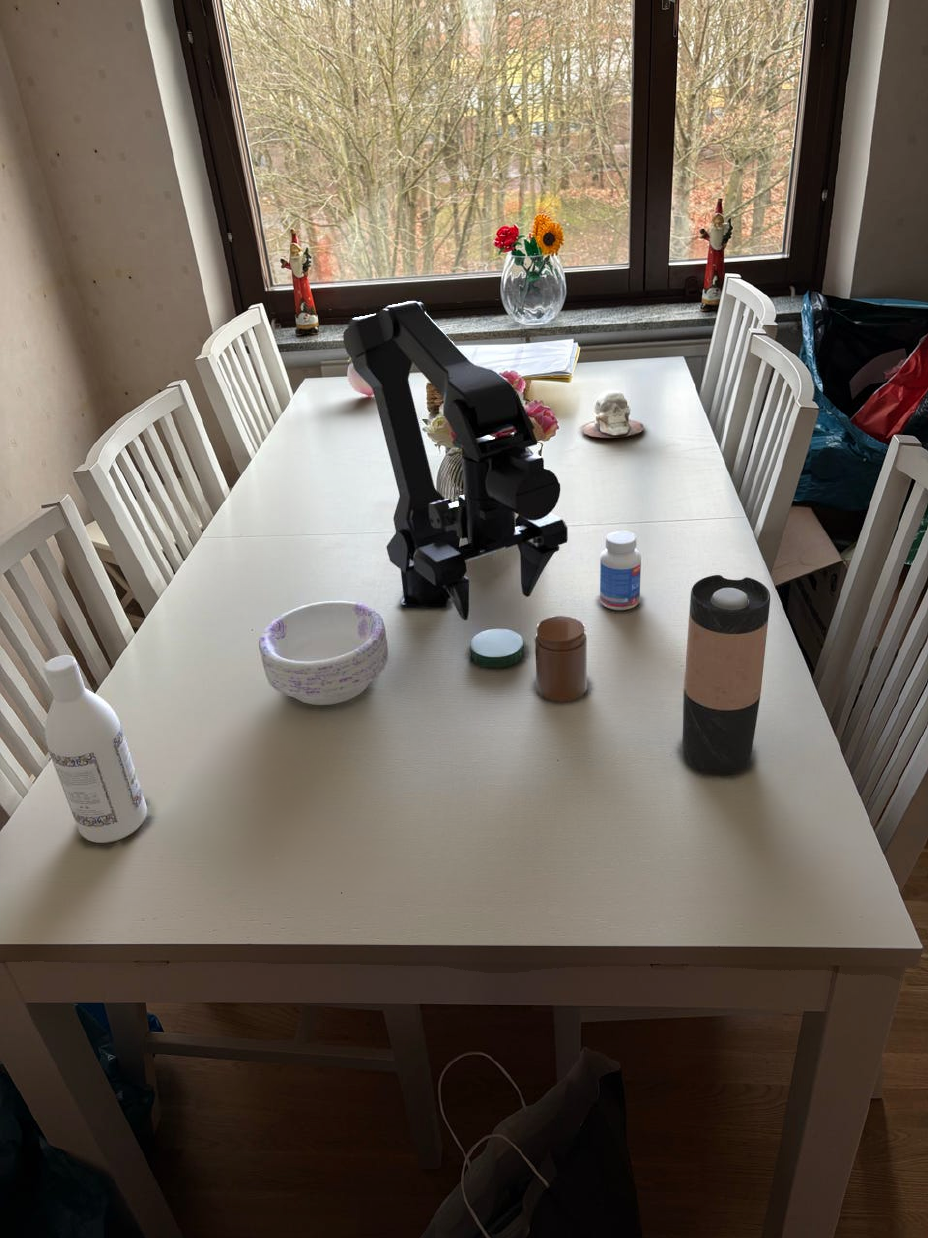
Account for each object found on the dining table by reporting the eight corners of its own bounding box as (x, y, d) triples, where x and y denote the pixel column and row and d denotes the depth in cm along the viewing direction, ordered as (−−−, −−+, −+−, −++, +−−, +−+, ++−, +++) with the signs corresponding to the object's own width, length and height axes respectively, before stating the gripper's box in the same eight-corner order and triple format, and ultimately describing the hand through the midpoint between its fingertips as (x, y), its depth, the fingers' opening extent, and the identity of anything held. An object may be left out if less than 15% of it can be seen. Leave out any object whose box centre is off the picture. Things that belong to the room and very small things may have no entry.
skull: (654, 433, 181) (619, 397, 177) (613, 470, 185) (578, 435, 181) (643, 410, 191) (609, 376, 187) (605, 445, 195) (570, 412, 191)
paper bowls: (257, 670, 123) (245, 617, 118) (369, 639, 127) (362, 587, 123) (286, 735, 110) (274, 679, 106) (409, 698, 115) (402, 643, 111)
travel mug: (711, 787, 98) (726, 620, 88) (665, 747, 104) (673, 587, 94) (768, 761, 101) (789, 597, 91) (720, 724, 107) (734, 566, 96)
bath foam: (124, 790, 104) (73, 635, 94) (161, 816, 100) (112, 657, 90) (67, 826, 100) (6, 668, 89) (103, 855, 96) (43, 693, 85)
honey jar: (545, 706, 112) (543, 645, 108) (530, 678, 117) (528, 619, 113) (593, 696, 113) (594, 636, 109) (577, 669, 118) (576, 610, 114)
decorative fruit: (345, 402, 213) (338, 358, 208) (354, 391, 220) (349, 347, 215) (385, 402, 212) (380, 357, 206) (394, 390, 218) (389, 347, 213)
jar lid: (532, 645, 123) (532, 634, 122) (509, 673, 118) (509, 662, 117) (485, 634, 126) (484, 624, 125) (461, 661, 121) (460, 650, 120)
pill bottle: (638, 612, 128) (640, 547, 123) (598, 610, 129) (598, 546, 124) (640, 592, 133) (642, 528, 128) (601, 590, 134) (602, 527, 129)
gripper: (516, 451, 120) (521, 561, 128) (385, 490, 113) (398, 604, 121) (569, 477, 112) (571, 593, 120) (431, 521, 104) (443, 642, 112)
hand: (495, 606), depth 118 cm, fingers open, 9 cm apart
